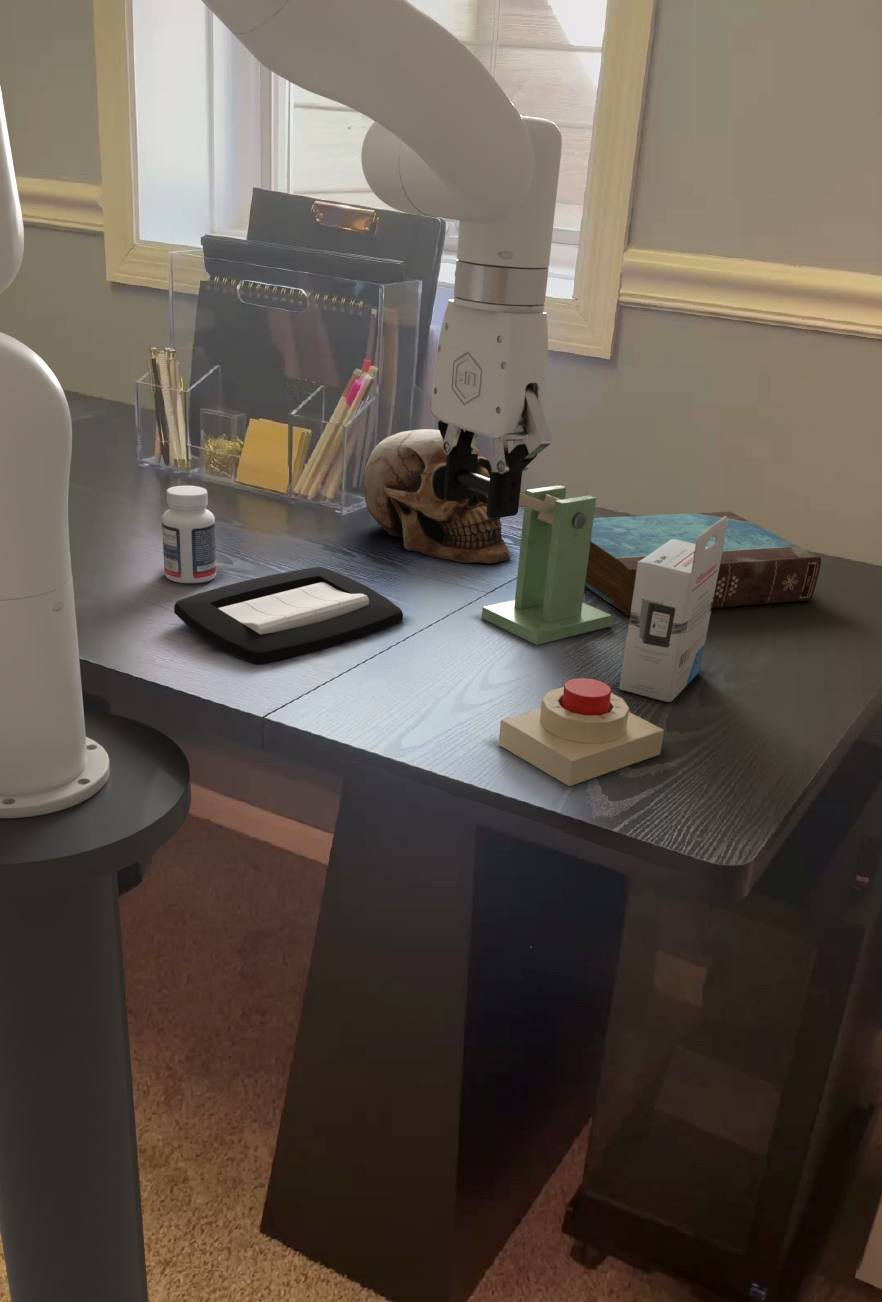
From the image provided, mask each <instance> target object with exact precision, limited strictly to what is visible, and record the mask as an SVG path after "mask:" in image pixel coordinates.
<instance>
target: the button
mask: <svg viewBox="0 0 882 1302" xmlns="http://www.w3.org/2000/svg"><path fill="white" fill-rule="evenodd" d="M563 687H564V691H563V699H562V707H563V708H564V709H566V710H568V711H570V712H572V713H577V714H581V715H603V714H606V713H608V711H609V704H610V697H611V693H612V688H611V686H610V685H609V684H607V683H605V682H603V681H601V680H597V679H595V678H594V679H593V678H586V677H580V678H579V677H578V678H571V679H569V680H567V681H565V683H564V685H563Z"/></svg>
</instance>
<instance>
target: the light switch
mask: <svg viewBox="0 0 882 1302" xmlns="http://www.w3.org/2000/svg"><path fill="white" fill-rule="evenodd" d="M173 612H174V614H175V615H176V617H178V618H179V619H180V620H181V621H182V622H183V623H184V624H185V625H186V626H187V627H188V628H190V629H191V630H192V631H194V632H195V633H196V634H197V635H199V636H201V637H202V638H203V639H205V640H206V641H208V642H209V643H211V644H213V645H215V646H217V647H218V648H220V649H222V650H223V651H226V652H228V653H229V654H232V655H234V656H237V657H238V658H241V659H243V660H245V661H248V662H249V663H252V664H266V663H271V662H276V661H280V660H286V659H289V658H293V657H298V656H302V655H306V654H311V653H314V652H319V651H322V650H326V649H329V648H333V647H336V646H340V645H344V644H346V643H349V642H352V641H356V640H358V639H361V638H364V637H367V636H369V635H372V634H375V633H377V632H380V631H383V630H385V629H389V628H390V627H393V626H394V625H397V624H400V623H402V621H403V620H404V613H403V610H402V609H401V608H400V607H399V606H397V605H396V604H395V603H394V602H393V601H391V600H390V599H388V598H387V597H386V596H384V595H383V594H380V593H379V592H377V591H376V590H374V589H372V588H371V587H369V586H367V585H365V584H363V583H361V582H359V581H357V580H355V579H352V578H350V577H349V576H346V575H344V574H342V573H338V572H337V571H334V570H332V569H329V568H326V567H322V566H316V567H309V568H302V569H296V570H291V571H285V572H279V573H275V574H270V575H266V576H265V575H264V576H261V577H256V578H252V579H247V580H243V581H238V582H235V583H232V584H228V585H223V586H220V587H217V588H213V589H210V590H206V591H203V592H199V593H197V594H194V595H193V594H192V595H190V596H187V597H185V598H182V599H179V600H176V602H175V604H174V606H173Z"/></svg>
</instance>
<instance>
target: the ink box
mask: <svg viewBox="0 0 882 1302" xmlns="http://www.w3.org/2000/svg"><path fill="white" fill-rule="evenodd" d="M727 522H728V517H727V516H725V517H724V518H723V519H721V520H720V521H718V522H717V523H715V524H714V525H712V526H711V527H709V528H708V529H707V530H706V531H704V532H703V533H702V534H700V535H699V536H698V537H697V540H696V544H693V543H689V542H684V541H680V540H676V539H671V540H669V541H668V542H667V543H665V544H664V545H662V546H661V547H659V548H658V549H656V550H655V551H654V552H652V553H651V554H649V555H648V556H646V557H645V558H643V559H642V560H640V561H639V562H638V566H637V573H636V580H635V587H634V593H633V600H632V606H631V613H630V615H629V620H628V627H627V635H626V640H625V647H624V653H623V661H622V667H621V674H620V681H619V690H621V691H624V692H628V693H632V694H636V695H639V696H641V697H647V698H650V699H654V700H657V701H661V702H665V703H672V701H674V700H675V699H676V697H677V696H679V694H681V692H682V691H683V690H684V689H685V688H686V687H687V686H688V685H689V684H690V683H691V682H692V681H693V679H695V678H696V676H698V674H699V673H700V671H701V667H702V666H701V665H702V660H703V656H704V651H705V645H706V641H707V635H708V630H709V624H710V618H711V614H712V609H713V608H712V603H713V598H714V593H715V588H716V583H717V577H718V572H719V567H720V562H721V557H722V550H723V545H724V540H725V535H726V529H727ZM711 536H712V537H715V540H714V542H713V544H712V545H710V546H709V547H706V544H707V542H708V541H710V539H711ZM711 608H712V609H711Z"/></svg>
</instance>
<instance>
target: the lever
mask: <svg viewBox="0 0 882 1302" xmlns="http://www.w3.org/2000/svg"><path fill="white" fill-rule="evenodd" d="M455 481H456V483H457V484H458V485H460V486H463V487H465V488H468V489H471V490H473V491H476V492H478V493H481V494H484V495H486V496H488V491H489V481H490V479H489V478H487V477H484V476H481V475H478V474H476V473H473V472H470V471H468V470H465V469H461V470H459V471H458V472H457V474H456V476H455ZM557 500H561V499H558V498H555V497H553V496H550V495H547V494H546V496H545V499H544V501H541V500H539V499H536V498H533V497H530V496H528V495H526V493H522V492H520V498H519V505H520V506H522V507H524V506H525V507H528V508H530V509H533V510H536V511H539V515H538V518H537V519H539V520H542V521H544V522H547V523H549V524H553V515H554V507H555V501H557Z"/></svg>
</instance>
